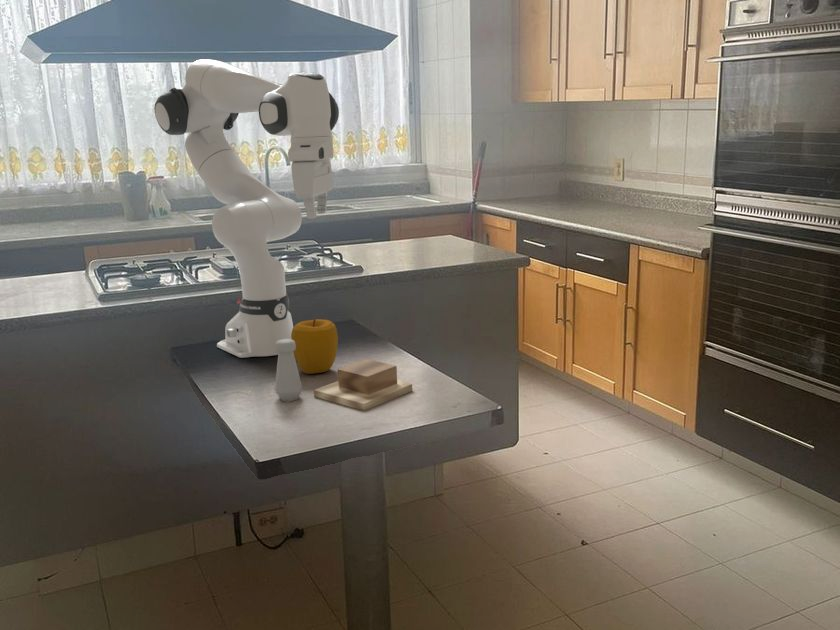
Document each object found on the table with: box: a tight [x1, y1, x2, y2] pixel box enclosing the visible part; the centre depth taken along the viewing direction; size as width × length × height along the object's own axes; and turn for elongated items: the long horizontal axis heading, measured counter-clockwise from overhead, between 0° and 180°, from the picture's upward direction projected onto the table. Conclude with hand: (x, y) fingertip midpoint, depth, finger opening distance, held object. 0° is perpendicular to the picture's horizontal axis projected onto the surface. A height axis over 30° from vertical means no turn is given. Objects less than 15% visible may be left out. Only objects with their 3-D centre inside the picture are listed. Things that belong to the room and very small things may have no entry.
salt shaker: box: [274, 339, 303, 403], centre depth 172 cm, size 6×6×13 cm
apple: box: [291, 318, 339, 375], centre depth 190 cm, size 11×11×13 cm
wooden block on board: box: [313, 358, 413, 411], centre depth 174 cm, size 15×15×6 cm
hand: (317, 215), depth 176 cm, fingers open, 8 cm apart
